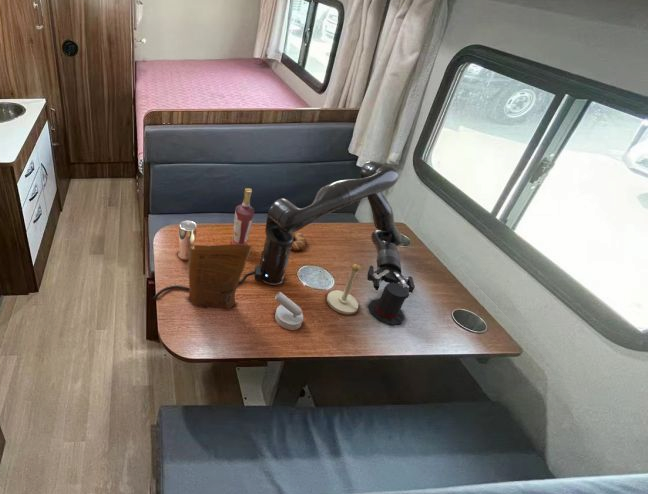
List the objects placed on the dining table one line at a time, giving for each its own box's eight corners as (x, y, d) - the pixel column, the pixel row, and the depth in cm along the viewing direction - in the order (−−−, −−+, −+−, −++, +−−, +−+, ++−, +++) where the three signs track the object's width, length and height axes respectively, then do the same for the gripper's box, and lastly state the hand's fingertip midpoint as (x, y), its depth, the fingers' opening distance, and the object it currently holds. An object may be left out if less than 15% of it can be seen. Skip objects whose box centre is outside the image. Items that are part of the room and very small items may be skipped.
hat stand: (329, 311, 134) (344, 273, 125) (324, 290, 143) (337, 252, 133) (360, 316, 133) (377, 278, 123) (353, 295, 141) (369, 257, 132)
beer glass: (197, 253, 159) (200, 223, 151) (189, 263, 154) (192, 233, 146) (182, 247, 162) (184, 218, 154) (174, 256, 157) (175, 227, 149)
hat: (373, 322, 131) (384, 299, 125) (365, 297, 140) (374, 275, 134) (408, 328, 129) (420, 305, 123) (397, 302, 138) (408, 280, 133)
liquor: (249, 252, 160) (260, 195, 145) (231, 252, 160) (240, 195, 145) (245, 241, 166) (255, 185, 152) (228, 240, 166) (237, 184, 152)
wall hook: (280, 283, 132) (310, 296, 128) (275, 303, 137) (304, 315, 133) (272, 300, 126) (304, 313, 121) (267, 320, 131) (298, 334, 126)
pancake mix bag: (240, 314, 133) (252, 251, 118) (184, 308, 135) (189, 245, 120) (238, 298, 139) (250, 237, 124) (184, 293, 141) (190, 232, 126)
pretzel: (291, 255, 159) (293, 248, 157) (271, 240, 167) (273, 233, 165) (311, 246, 164) (313, 239, 162) (291, 232, 172) (293, 225, 170)
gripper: (370, 250, 147) (371, 278, 134) (414, 261, 142) (419, 291, 129) (364, 265, 151) (365, 293, 138) (406, 276, 146) (411, 307, 133)
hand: (391, 292), depth 133 cm, fingers open, 8 cm apart
